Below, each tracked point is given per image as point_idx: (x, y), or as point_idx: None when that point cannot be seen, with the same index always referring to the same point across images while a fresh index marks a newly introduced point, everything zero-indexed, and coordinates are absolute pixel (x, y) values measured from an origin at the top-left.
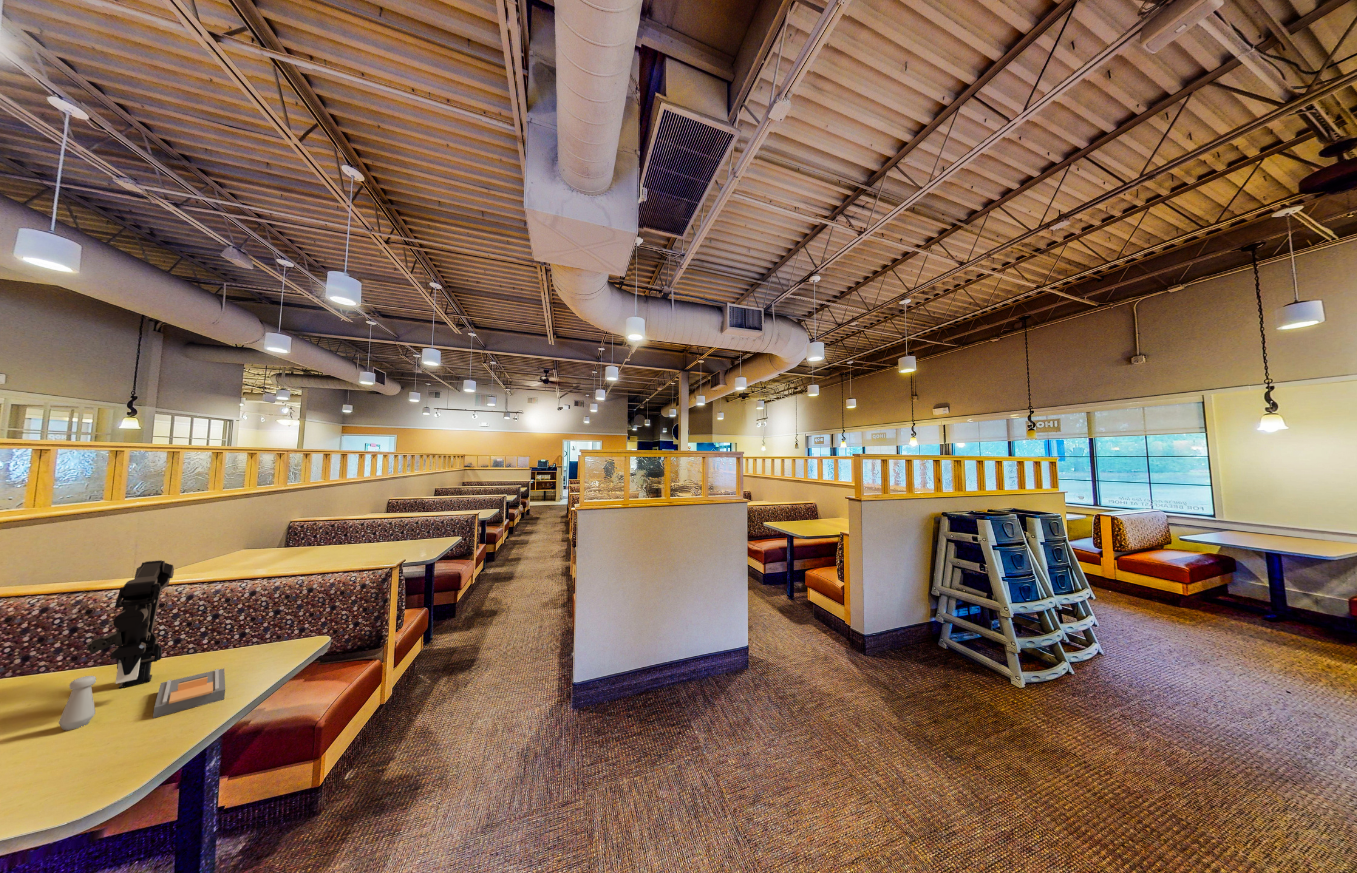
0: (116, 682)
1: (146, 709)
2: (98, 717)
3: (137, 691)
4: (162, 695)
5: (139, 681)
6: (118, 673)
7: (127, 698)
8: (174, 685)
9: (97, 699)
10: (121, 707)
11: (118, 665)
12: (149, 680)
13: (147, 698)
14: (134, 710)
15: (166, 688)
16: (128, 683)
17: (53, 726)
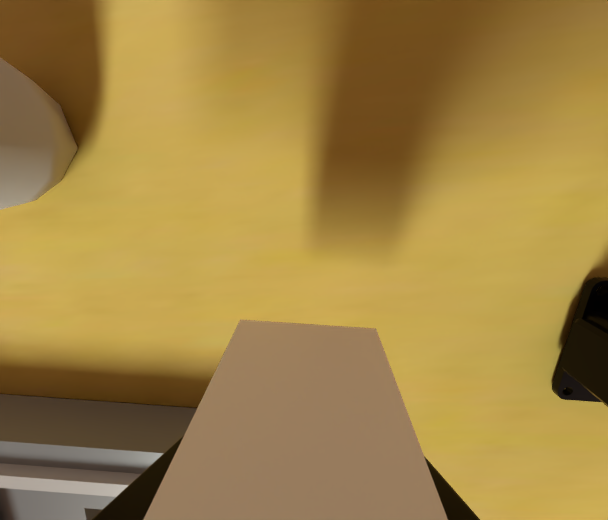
0: (237, 330)
1: (57, 371)
2: (103, 216)
3: (419, 345)
4: (14, 458)
5: (565, 365)
6: (209, 397)
7: (329, 312)
8: None
9: (477, 194)
10: (187, 293)
11: (150, 511)
12: (557, 394)
13: None
14: (84, 336)
15: (89, 484)
16: (584, 323)
17: (127, 33)
